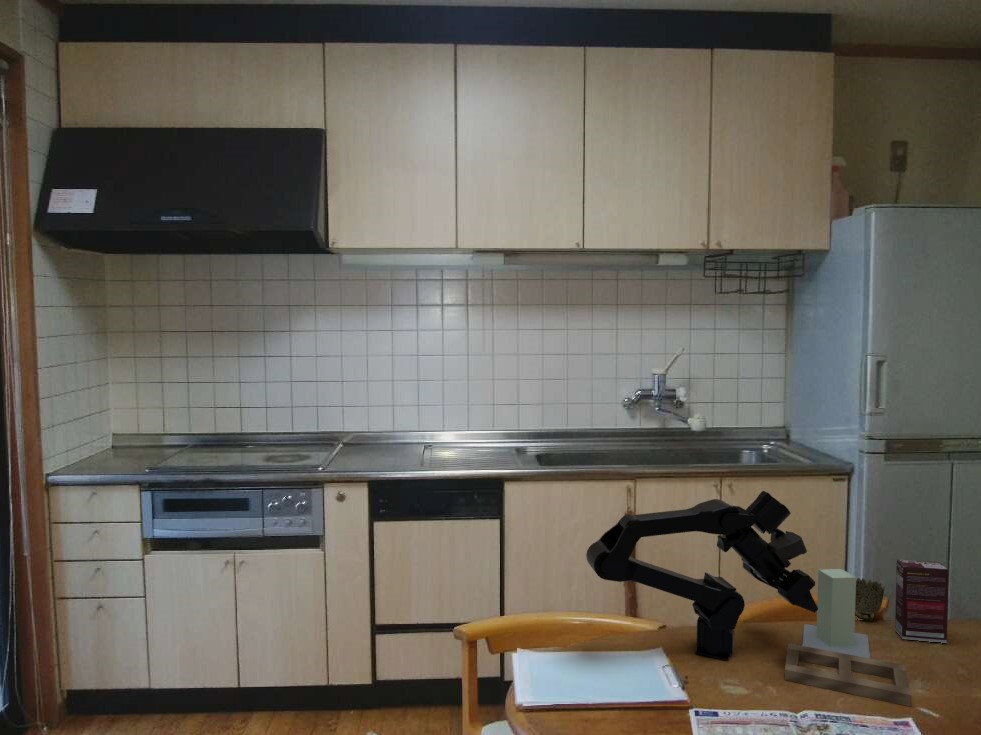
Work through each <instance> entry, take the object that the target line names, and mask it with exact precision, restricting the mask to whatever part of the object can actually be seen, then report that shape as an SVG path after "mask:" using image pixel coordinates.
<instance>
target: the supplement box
mask: <svg viewBox="0 0 981 735" xmlns="http://www.w3.org/2000/svg"><path fill="white" fill-rule="evenodd" d="M949 570H950V569H949V568H948V567H946V566H945V565H944V564H942V563H941V562H938V561H926V560H924V561H922V560H911V559H909V560H908V559H896V570H895V571H896V575H895V576H896V579H895V612H894V613H895V616H894V617H895V618H894V619H895V620H894V621H895V622H894V632H895V631H896V632H897V633H898V634H899V635H900V636H901V637H902V639H910V640H919V641H929V642H928V643H930V642H941V643H940V644H942V643H948V622H949V621H948V620H949V618H948V617H949V575H950V574H949V572H950V571H949ZM896 632H895V633H896ZM897 633H896V634H897ZM898 634H897V635H898ZM899 635H898V636H899ZM900 636H899V637H900ZM902 639H901V640H902ZM919 641H918V642H919Z"/></svg>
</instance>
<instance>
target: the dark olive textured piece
mask: <svg viewBox="0 0 981 735" xmlns="http://www.w3.org/2000/svg"><path fill="white" fill-rule="evenodd" d="M885 588H886V586H885V585H884V586H883V587H882V583H881V582H880V583H879V581H878V580H875V581H872V580H871V579H868V581H867V580H866V579H865V578H862V579H860V578H859V577H857V578H856V598H855V617H856V618H858V619H859V620H862V621H868V622H869V621H872V620H873V619H874V618H875V615H874V614H877V613H878V612H879V611H880V609H881V607H882V604H883V601H884V595H885V593H884V592H885Z"/></svg>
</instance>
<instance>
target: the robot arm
mask: <svg viewBox="0 0 981 735" xmlns="http://www.w3.org/2000/svg"><path fill="white" fill-rule="evenodd" d="M791 514H792V513H791V511H790V510H789V508H787V506H786V505H785V504H783V503H781V502H780V501H779V500H778V499H776V498H775V497H773V496H772V495H771V494H770V493H769V492H767V491H765V490H762V491H761V492H759V494H758V495H757V497H756V499H754V500H753V502H751V504H750V505H749V506H748V507H747V508H746V509H745V508H744V507H741V506H739V505H731V504H729V503H727V502H726V501H723V500H722V499H718V498H714V499H710V500H706V501H702V502H700V503H699V502H698V504H696V505H694V506H692V507H690V508H689V507H688V508H686V509H685V508H683V509H677V510H676V509H675V510H667V511H659V512H649V513H639V514H624V515H623V516H622V517H621V518H620V519H619V520H618V521H617V522H616V524H615V525H613V526H612V527H611V528H609V529H608V530H607V531H605V532H604V533H603V534H602V535H601V537H600V538H599V539H598V540H597V541H595V542H593V543H592V544H591V545H589V547H588V548H587V550H586V556H585V557H586V561H587V563H588V564H589V566H590V567H591V569H592V570H593V571H594V573H595V575H597V576H598V577H599V578H600V579H602V580H605V581H612V582H619V583H623V582H635V583H638V584H641V585H644V586H646V587H650V588H654V589H655V590H656V589H657V590H659V591H662V592H666V593H668V594H672V595H675V596H678V597H681V598H684V599H687V600H690V601H693V603H692V604H691V605H692V608H693V612H694V614H695V615H697V616H698V618H697V621H696V647H695V649H694V654H695V655H699V656H703V657H708V658H712V659H718V660H723V661H729V660H730V657H731V655H733V653H734V650H735V629H736V627H737V623H738V621H739V619H740V617H741V615H742V614H743V612H744V609H745V606H746V605H745V600H744V597H743V596H742V594H741V593H739V592H738V591H737V588H736V587H735V586H733V585H732V584H731V583H730V582H728V581H727V580H726V579H725V578H723V577H722V576H714V575H712V574H710V573H708V572H707V571H706V572H704V576H703V578H693V577H691V576H688V575H685V574H681V573H678V572H675V571H673V570H670V569H668V568H667V569H666V568H664V567H660V566H658V565H654V564H652V563H648V562H646V561H643V560H641V559H640V560H639V559H636V558H634V557H632V556H631V555H632V553H633V551H634V549H635V547H636V545H637V543H638V541H640V539H642V538H646V537H647V538H648V537H655V536H663V535H674V534H683V533H691V532H692V533H693V532H698V533H699V532H700V533H706V534H711V535H717V542H716V547H717V549H720V550H721V551H722V552H724V553H728V552H729V550H731V549H732V550H733V551H734V552H736V554H737V555H738V556H739V557H740V558H741V561H742V568H743V569H744V570H745V571H746V572H747V573H748V574H749V575H751V576H752V577H753V578H755V580H757V581H759V582H761V583H763V584H765V585H767V586H770V587H771V588H774V589H776V590H777V593H778V595H779V596H781V597H782V598H783V600H785V601H786V602H788V603H789V604H791V606H796V607H799V608H801V609H804V610H807V611H809V612H812V613H817V610H818V607H817V604H816V601H815V599H814V597H813V595H812V593H811V590H813V588H814V587H815V586H816V581H815V579H814V578H812V577H811V576H810V575H809V574H807V573H806V572H804V571H802V570H801V569H792V571H789V570H788V569H787V568H789V567H790V566H791V565H792V563H791V561H790V560H793V559H795V558H796V557H799V556H801V555H805V554H806V553H808V549H807V547H806V545H805V542H804V539H803V538H802V536H801V535H799V534H797V533H795V532H792V531H787V530H786V531H785V532H784V531H783V530H781V529H780V528H779V527H780V526H781V525H782V524H783V522H785V520H786V519H788V517H790V515H791ZM753 527H754V528H753ZM756 530H757V531H758V532H759V533H761V534H762V535H763V534H765V533H767V534H768V535H770V539H769V541H770V542H767V541H766V540H764V538H763V537H762V536H761V535H759V533H758V532H757V531H756Z"/></svg>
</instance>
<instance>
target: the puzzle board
mask: <svg viewBox="0 0 981 735" xmlns="http://www.w3.org/2000/svg"><path fill="white" fill-rule="evenodd" d="M785 658H786V659H785V666H784V681H788V682H793V683H796V684H802V685H807V686H812V687H816V688H820V689H825V690H831V691H836V692H841V693H845V694H850V695H855V696H860V697H863V698H864V697H865V698H869V699H874V700H879V701H884V702H888V703H894V704H898V705H903V706H907V707H912V693H911V688H910V684H909V681H908V680H909V679H908V674H907V670H906V666H905V664H902V663H901V664H900V663H895V662H893V661H892V662H891V661H886V660H880V659H875V658H871V657H870V658H865V657H860V656H854V655H849V654H844V653H838V652H833V651H827V650H822V649H817V648H811V647H806V646H802V644H801V645H799V644H794V643H789V642H788V645H787V651H786V657H785ZM799 662H805V663H810V664H816V665H820V666H825V667H831V668H835V669H838V673H835V672H829V671H824V670H819V669H815V668H809V667H804V666H801V665H800V666H799ZM851 670H852V671H851ZM852 672H855V673H860V672H861V673H860V674H865V675H871V676H877V677H881V676H882V678H886V677H887V679H891V678H893V679H892V681H893V684H890V683H885V682H879V681H875V680H870V679H865V678H860V677H855V676H853V675H852Z"/></svg>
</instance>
